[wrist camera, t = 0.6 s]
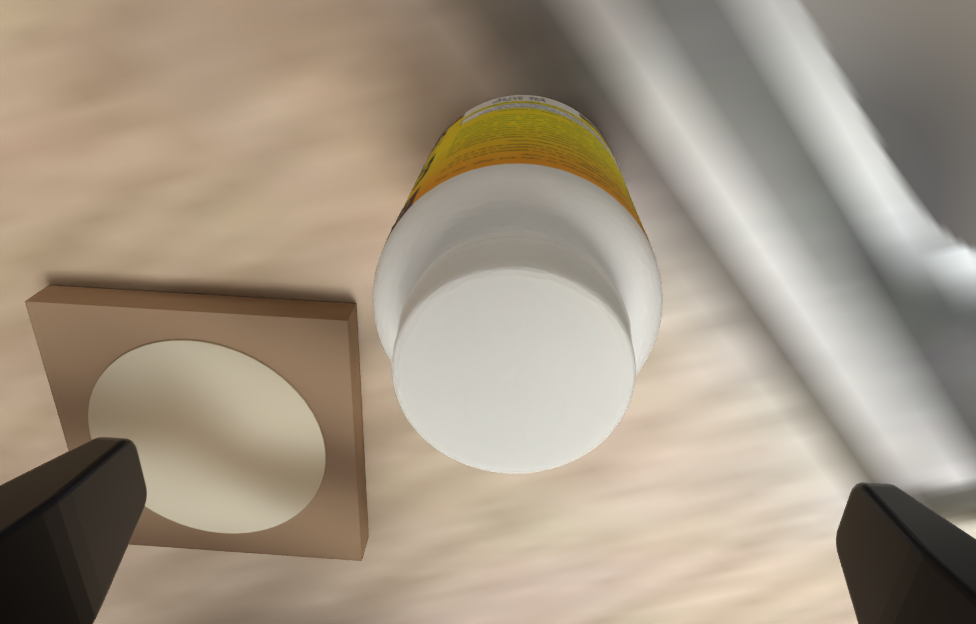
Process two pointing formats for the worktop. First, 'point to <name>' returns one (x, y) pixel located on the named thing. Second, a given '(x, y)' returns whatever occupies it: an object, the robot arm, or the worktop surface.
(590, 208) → the supplement bottle
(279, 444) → the walnut board
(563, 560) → the worktop surface
